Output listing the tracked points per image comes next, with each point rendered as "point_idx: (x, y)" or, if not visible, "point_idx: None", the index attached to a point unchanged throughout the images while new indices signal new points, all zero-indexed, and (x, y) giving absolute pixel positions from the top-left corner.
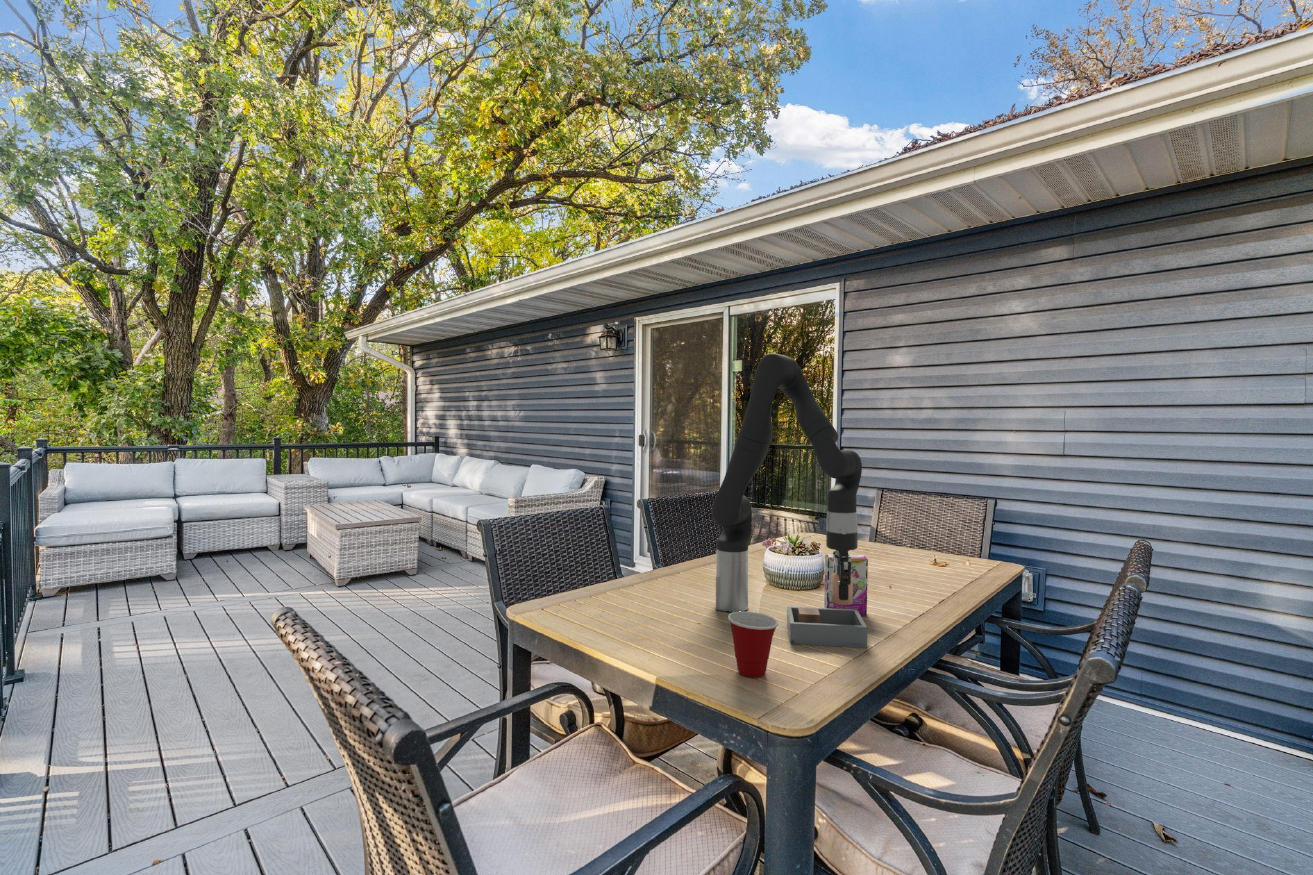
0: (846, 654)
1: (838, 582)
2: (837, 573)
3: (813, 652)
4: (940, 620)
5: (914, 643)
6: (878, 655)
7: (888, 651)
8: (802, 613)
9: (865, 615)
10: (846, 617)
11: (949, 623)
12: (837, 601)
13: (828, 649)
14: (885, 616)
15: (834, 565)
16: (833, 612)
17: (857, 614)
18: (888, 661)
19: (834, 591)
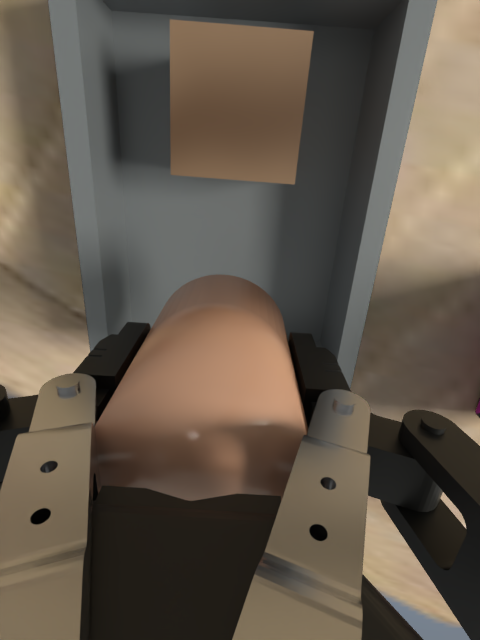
0: (35, 248)
1: (56, 383)
2: (20, 443)
3: (12, 107)
4: (402, 576)
5: None
6: (60, 352)
7: None
8: (185, 48)
9: (476, 409)
10: (332, 328)
11: (374, 585)
12: (164, 305)
13: (69, 185)
14: None
15: (282, 500)
16: (348, 279)
17: None
18: (15, 368)
19: (169, 315)
